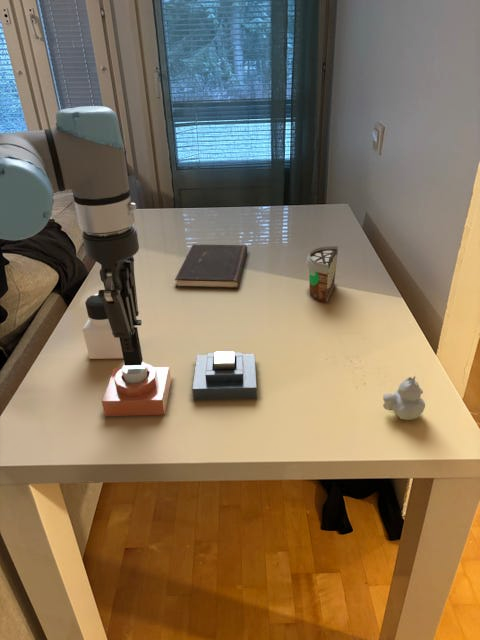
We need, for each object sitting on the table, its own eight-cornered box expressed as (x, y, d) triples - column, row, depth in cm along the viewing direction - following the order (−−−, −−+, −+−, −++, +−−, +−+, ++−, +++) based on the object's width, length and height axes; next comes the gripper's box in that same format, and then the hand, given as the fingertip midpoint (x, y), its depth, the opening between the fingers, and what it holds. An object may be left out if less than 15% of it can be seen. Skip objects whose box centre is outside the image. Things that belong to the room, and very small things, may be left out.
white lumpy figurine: (426, 427, 73) (435, 387, 69) (383, 424, 74) (390, 385, 70) (418, 404, 78) (426, 365, 74) (378, 402, 79) (384, 364, 75)
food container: (311, 279, 119) (313, 242, 114) (335, 282, 117) (338, 245, 112) (299, 301, 109) (300, 262, 104) (325, 305, 107) (327, 265, 102)
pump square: (214, 371, 81) (213, 363, 81) (215, 359, 85) (214, 351, 84) (234, 371, 81) (234, 363, 81) (234, 359, 85) (234, 351, 84)
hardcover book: (175, 287, 118) (174, 279, 116) (193, 251, 137) (192, 244, 136) (238, 289, 116) (238, 280, 115) (247, 252, 135) (247, 245, 134)
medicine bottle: (125, 359, 92) (114, 306, 85) (89, 359, 92) (76, 306, 86) (132, 339, 98) (123, 288, 92) (99, 339, 98) (87, 288, 92)
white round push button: (121, 384, 78) (119, 374, 76) (126, 370, 81) (124, 360, 80) (145, 384, 77) (143, 374, 76) (149, 369, 81) (147, 359, 80)
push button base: (193, 399, 81) (191, 381, 79) (197, 365, 89) (196, 348, 87) (256, 398, 80) (256, 380, 78) (254, 363, 89) (254, 346, 87)
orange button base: (104, 416, 78) (99, 392, 75) (116, 382, 85) (112, 360, 83) (164, 414, 78) (161, 391, 75) (171, 380, 85) (168, 358, 83)
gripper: (125, 244, 60) (150, 387, 72) (143, 211, 71) (161, 340, 83) (67, 246, 60) (101, 388, 72) (94, 213, 71) (120, 341, 83)
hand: (133, 362), depth 78 cm, fingers closed
